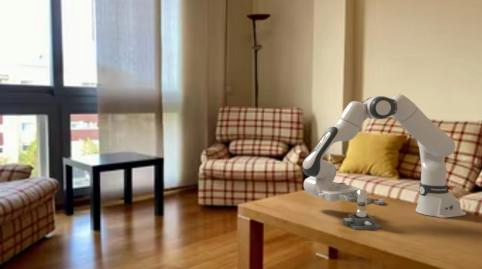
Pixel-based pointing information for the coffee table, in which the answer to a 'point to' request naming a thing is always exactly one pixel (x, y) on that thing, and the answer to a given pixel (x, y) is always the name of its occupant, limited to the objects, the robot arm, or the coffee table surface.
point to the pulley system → (368, 200)
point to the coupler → (361, 203)
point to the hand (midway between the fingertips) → (355, 197)
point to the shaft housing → (361, 222)
